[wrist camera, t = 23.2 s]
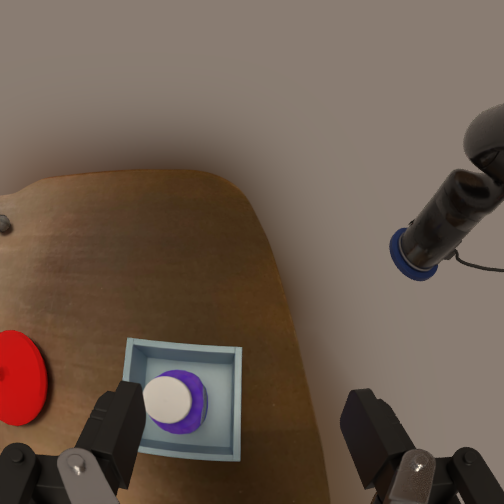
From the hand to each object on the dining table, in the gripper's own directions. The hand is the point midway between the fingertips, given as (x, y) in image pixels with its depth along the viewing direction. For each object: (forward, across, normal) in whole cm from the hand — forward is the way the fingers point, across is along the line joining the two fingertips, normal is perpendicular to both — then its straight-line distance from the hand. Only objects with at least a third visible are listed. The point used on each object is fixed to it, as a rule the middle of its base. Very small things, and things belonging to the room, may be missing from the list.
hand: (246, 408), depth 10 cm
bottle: (+22, +5, +21) cm, 31 cm away
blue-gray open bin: (+22, +6, +22) cm, 32 cm away
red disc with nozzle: (+21, +34, +24) cm, 47 cm away
